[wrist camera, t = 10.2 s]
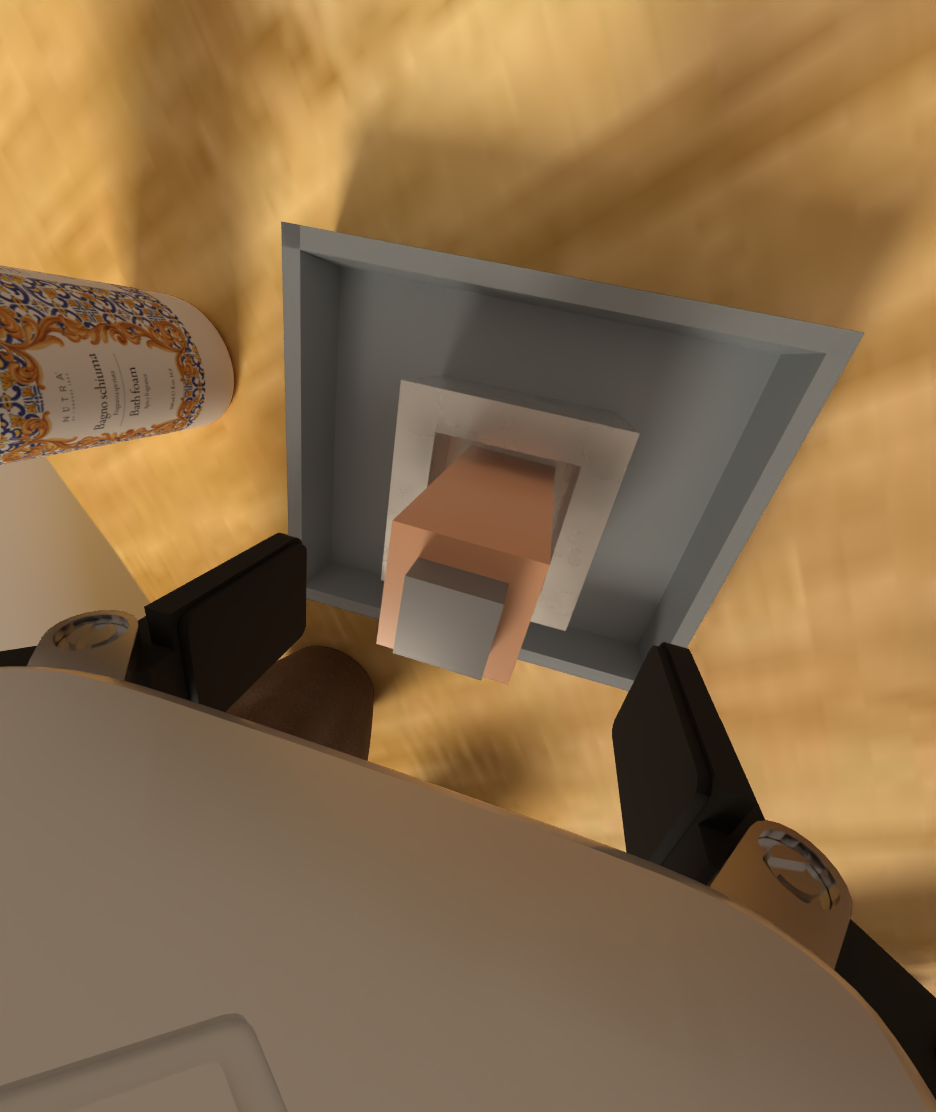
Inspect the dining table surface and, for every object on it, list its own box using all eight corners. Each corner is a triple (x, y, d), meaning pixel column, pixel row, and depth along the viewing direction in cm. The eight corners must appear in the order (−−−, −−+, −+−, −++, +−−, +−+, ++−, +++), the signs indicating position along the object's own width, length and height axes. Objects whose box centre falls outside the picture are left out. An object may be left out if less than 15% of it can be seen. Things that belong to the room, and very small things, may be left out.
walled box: (803, 338, 18) (864, 332, 14) (644, 653, 26) (657, 699, 22) (331, 246, 20) (281, 221, 16) (323, 564, 28) (289, 593, 25)
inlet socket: (618, 413, 20) (639, 433, 14) (564, 571, 24) (565, 631, 19) (442, 374, 21) (401, 379, 15) (419, 532, 25) (380, 579, 20)
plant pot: (458, 718, 32) (376, 1003, 18) (333, 766, 38) (198, 1008, 24) (331, 572, 28) (103, 784, 14) (216, 651, 34) (-25, 855, 20)
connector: (555, 467, 19) (548, 585, 9) (531, 544, 20) (503, 711, 11) (471, 445, 19) (376, 536, 9) (454, 522, 21) (361, 666, 11)
